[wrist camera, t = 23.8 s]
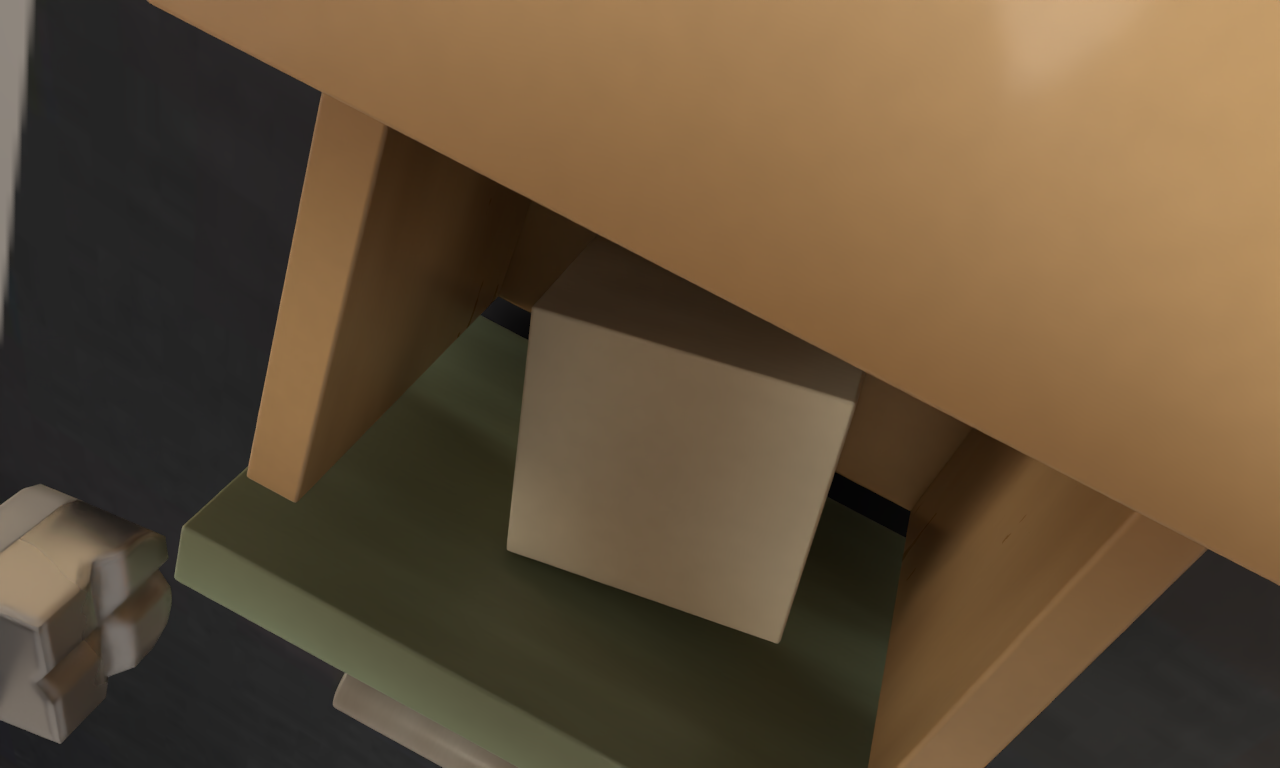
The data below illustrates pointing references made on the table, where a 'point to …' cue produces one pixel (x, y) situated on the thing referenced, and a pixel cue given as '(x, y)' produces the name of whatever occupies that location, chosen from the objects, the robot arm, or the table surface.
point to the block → (674, 442)
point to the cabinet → (901, 195)
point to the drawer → (589, 610)
